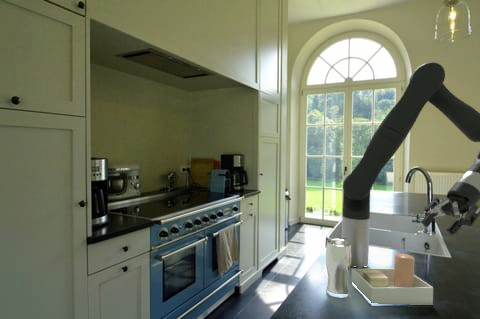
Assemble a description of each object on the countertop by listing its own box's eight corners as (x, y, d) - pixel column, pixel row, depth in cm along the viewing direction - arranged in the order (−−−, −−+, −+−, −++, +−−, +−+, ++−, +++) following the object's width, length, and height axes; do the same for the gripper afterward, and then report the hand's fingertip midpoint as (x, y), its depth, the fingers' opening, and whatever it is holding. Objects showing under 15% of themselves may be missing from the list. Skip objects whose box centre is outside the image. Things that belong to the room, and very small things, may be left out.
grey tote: (371, 306, 79) (372, 288, 79) (351, 284, 92) (351, 268, 92) (432, 305, 80) (433, 287, 80) (404, 284, 93) (404, 268, 93)
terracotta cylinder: (389, 288, 88) (390, 254, 87) (402, 285, 89) (403, 252, 89) (404, 296, 83) (405, 260, 83) (417, 293, 85) (418, 258, 84)
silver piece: (330, 285, 91) (331, 237, 90) (353, 292, 87) (355, 242, 86) (320, 294, 86) (322, 242, 85) (345, 302, 81) (346, 248, 81)
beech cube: (387, 295, 83) (388, 277, 83) (370, 295, 83) (370, 278, 83) (378, 287, 88) (378, 270, 88) (361, 287, 88) (362, 270, 88)
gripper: (441, 178, 96) (410, 214, 94) (486, 183, 82) (451, 226, 80) (453, 194, 98) (423, 230, 96) (500, 202, 84) (466, 244, 82)
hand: (436, 228), depth 88 cm, fingers open, 8 cm apart
